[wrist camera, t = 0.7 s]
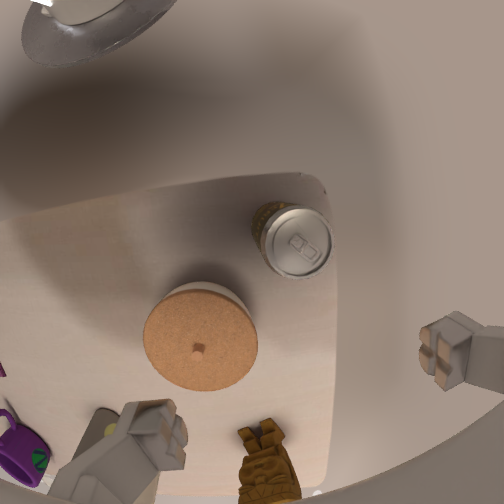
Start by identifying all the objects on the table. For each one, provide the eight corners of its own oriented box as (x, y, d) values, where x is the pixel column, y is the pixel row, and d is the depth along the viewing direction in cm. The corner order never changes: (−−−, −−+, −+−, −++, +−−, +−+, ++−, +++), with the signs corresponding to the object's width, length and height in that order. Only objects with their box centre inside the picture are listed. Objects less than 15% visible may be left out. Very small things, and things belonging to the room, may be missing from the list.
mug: (62, 463, 38) (47, 495, 28) (26, 451, 37) (9, 478, 27) (25, 402, 34) (-1, 434, 25) (-10, 392, 34) (-34, 418, 24)
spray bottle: (104, 429, 36) (65, 522, 16) (90, 407, 35) (40, 501, 15) (129, 429, 36) (94, 530, 16) (115, 406, 35) (70, 510, 15)
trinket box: (268, 292, 33) (281, 328, 24) (229, 366, 35) (230, 415, 25) (179, 253, 31) (159, 277, 22) (149, 333, 33) (125, 375, 24)
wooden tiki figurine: (274, 413, 37) (292, 497, 22) (292, 437, 38) (312, 514, 23) (231, 430, 37) (233, 513, 22) (252, 452, 38) (260, 528, 23)
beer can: (309, 222, 32) (352, 239, 20) (278, 260, 32) (304, 297, 21) (272, 191, 31) (296, 188, 19) (240, 230, 31) (245, 251, 20)
